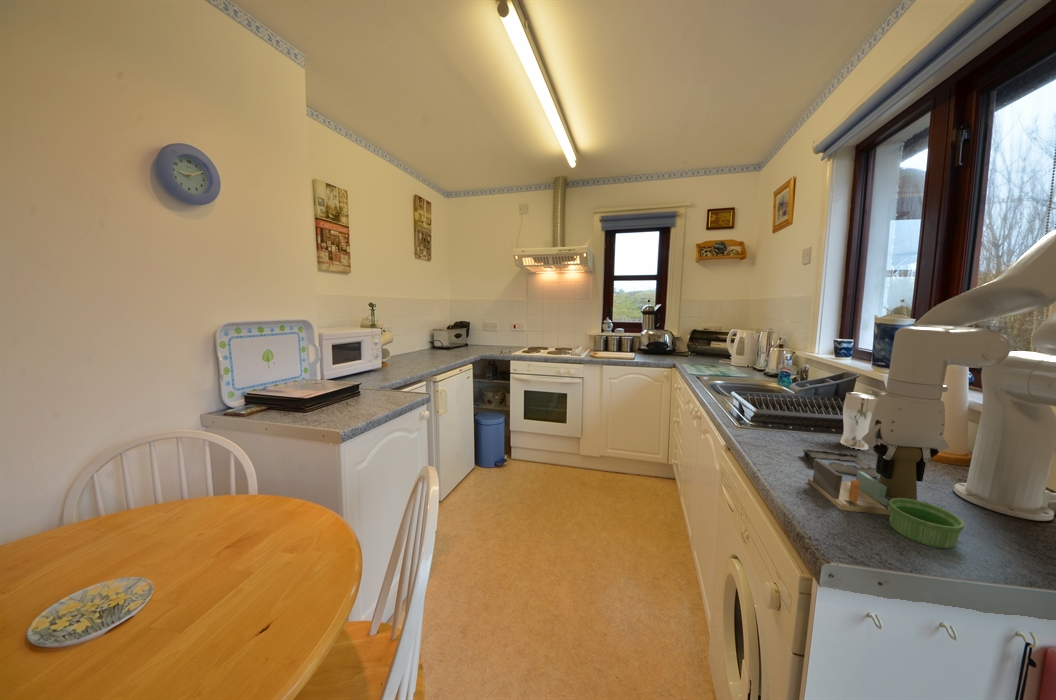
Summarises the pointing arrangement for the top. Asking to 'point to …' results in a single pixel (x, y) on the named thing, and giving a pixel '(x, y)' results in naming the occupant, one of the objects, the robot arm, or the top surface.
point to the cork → (903, 474)
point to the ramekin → (925, 522)
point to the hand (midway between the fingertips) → (898, 476)
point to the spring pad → (872, 487)
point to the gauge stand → (843, 491)
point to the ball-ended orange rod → (854, 491)
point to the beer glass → (857, 418)
